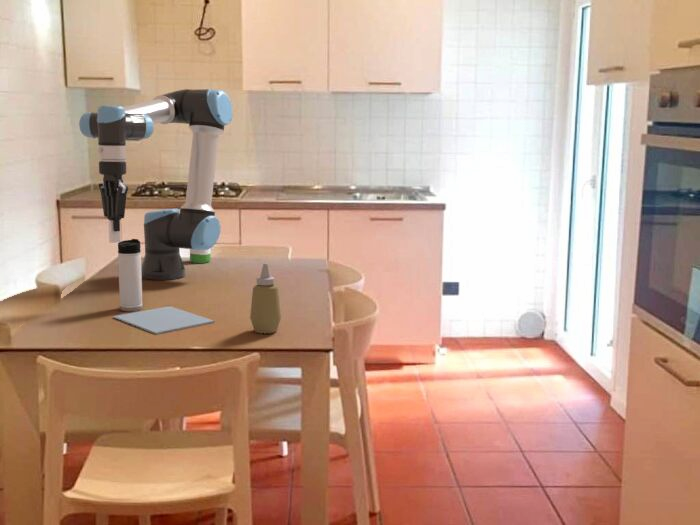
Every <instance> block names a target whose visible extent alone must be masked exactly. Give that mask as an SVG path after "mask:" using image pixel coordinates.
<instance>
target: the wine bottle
mask: <svg viewBox="0 0 700 525" xmlns="http://www.w3.org/2000/svg"><path fill="white" fill-rule="evenodd" d="M211 249H212V248H210V249H208V250H194V249H189V260H190V262H191V263H194V264H207V263H209V262H210V261H211V257H212V255H211Z"/></svg>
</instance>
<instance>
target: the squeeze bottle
mask: <svg viewBox="0 0 700 525" xmlns="http://www.w3.org/2000/svg"><path fill="white" fill-rule="evenodd" d="M275 283H276V280H275V277H274V276H272V275H271V271H270V268H269V263H263V264H262V268H261V274H260V276H257V277H256V285H254V286H253V287H252V292H251V293H252V294H251V295H252V296H251V307H250V315H249V316H250V317H249V319H250V321H251V325H252V327H253V331H254V332H255V333H258V334H263V333H264V335H265V334H267V333H268V334H274V333H275V332H277V330H278V328H279V326H280V323H281V319H282V313H281V302H280V292H279V291H280V290H279V287H278V286H277V285H276V284H275Z"/></svg>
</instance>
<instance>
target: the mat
mask: <svg viewBox="0 0 700 525" xmlns="http://www.w3.org/2000/svg"><path fill="white" fill-rule="evenodd" d="M113 319H115V320H117V319H118V321H120V320H121V321H120V322H122V321H124V322H123V323H125V322H126V323H125V324H128V325H130V324H131V326H133V327H135V326H136V328H138V327H139V328H138V329H141V330H143V329H144V331H146V332H149V333H152V334H153V335H160V334H165V333H170V332H174V331H179V330H184V329H185V330H186V329H189V328H195V327H200V326H205V325H209V324H214V323H215V320H213V319H210V318H208V317H207V318H206V317H204V316H202V315H201V316H200V315H198V314H195V313H192V312H189V311H186V310H183V309H180V308H176V307H174V306H172V305H170V306H163V307H157V308H153V309H148V310H147V309H146V310H139V311H133V312H131V313H130V312H129V313H125V314H119V315H113Z"/></svg>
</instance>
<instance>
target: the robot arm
mask: <svg viewBox="0 0 700 525" xmlns="http://www.w3.org/2000/svg"><path fill="white" fill-rule="evenodd" d="M233 113H234V111H233V104H232V102H231V99H230V97H229V95H228V93H226V92H225V91H223V90H221V89H212V88H210V89H206V88H205V89H188V88H187V89H185V88H184V89H179V90H175V91H171V92H168V93H164V94H160V95H157V96H155V97H154V98H153V99H152V100H149V101H143V102H139V103H136V104H131V105H126V106H122V105H100V106H98V108H97V112H94V111H92V112H86V113H83V114H82V115H81V116H80V119H79V122H78V123H79V124H78V125H79V130H80V132H81V135H83V136H84V137H87V138H92V139H97V141H98V142H97V144H98V146H97V147H98V148H97V152H98V159H99V160H100V161H98V173H99V174H100V175H103V179H102V183H98V189H99V190H100V191H99V192H100V197H101V204H102V210H103V216H104V217H106V219H107V220H108V239H109V243H113V244H114V243H119V242H121V220H122V219H125V212H126V203H127V195H128V190H129V186H128V185H124V180H123V179H124V178H123V175H126V174H127V162H126V161H125V160H126V159H127V145H126V142H127V140H140V141H141V140H145V139H148V138H150V137H152V135H153V133H154V130H155V127H154V126H155V125H156V124H161V125H168V124H185V125H188V128H189V130H190V131H191V132H192V136H191V137H192V138H191V149H190V157H189V167H188V175H187V184H186V185H187V186H186V195H185V196H186V197H185V203H184V204H183V205H182V206H181V207H180V208H179V209H178V208H165V209H157V210H152V211H147V212H146V213H145V214H144V217H143V218H144V219H143V221H144V222H143V231H144V233H143V235H144V236H143V237H144V257H143V261H142V262H141V275H142V279H146V280H154V281H166V280H175V279H180V278H183V277H185V276H186V269H185V268H186V267H185V265H184V262H183V260H182V257H181V253H180V251H181V250H180V249H187V250H190V249H194V250H208V249H210V248H211V249H212V248H213V247H214V246H215V245H216V244H217V242H218V241H219V238H220V235H221V231H222V230H221V224H220V223H221V222H220V220H219V218H217V216H215V215H216V211H215V210H214V208H213V207H212V204H213V203H212V200H213V192H214V184H215V182H214V181H215V175H216V173H215V172H216V165H217V156H218V155H217V154H218V146H219V145H218V144H219V138H220V136H221V135H222V134H223V133H224V131H225V130H224V129H225V126H227V125H229V124H230V123H231V122H232V120H233Z"/></svg>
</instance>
